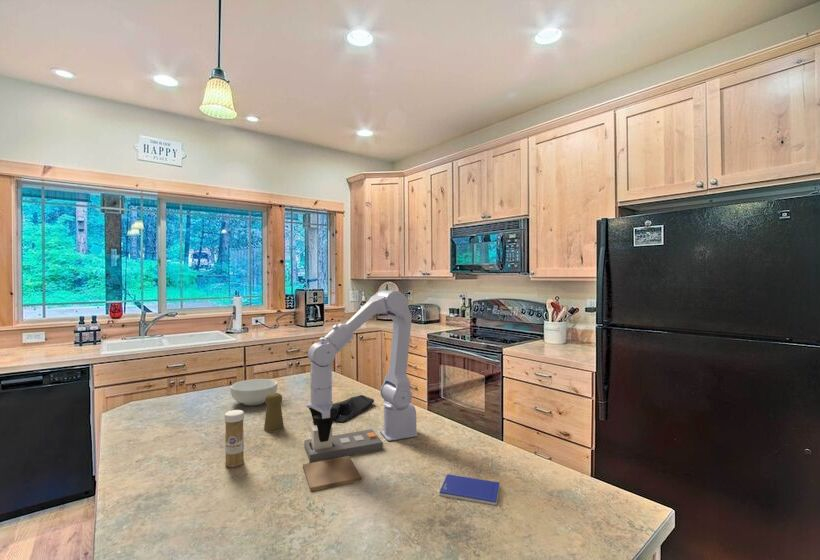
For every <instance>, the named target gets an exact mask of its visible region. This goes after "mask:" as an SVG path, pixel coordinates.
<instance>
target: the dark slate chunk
mask: <svg viewBox="0 0 820 560" xmlns="http://www.w3.org/2000/svg"><path fill="white" fill-rule="evenodd" d="M374 402H375V399H374V398H372V397H371V398H370V397H369V396H366V395H363V394H361V395H360V394H359V395H356V396H355V395H354V396H351V397H350V398H348V399H345V400H343V401H337V402H335V403H333V405H332V407H331V409H330V415H333V414H335V416H336V417H335V420H334V422H335V423H346V422H347V420H349V419H352V418H354V417H356V416H358V415H359V414H360V413H361V412H363V411H364V410H366V408H367V409H368V408H369V407H370V406H371V405H373V404H374Z"/></svg>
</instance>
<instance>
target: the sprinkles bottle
mask: <svg viewBox="0 0 820 560" xmlns="http://www.w3.org/2000/svg"><path fill="white" fill-rule="evenodd" d="M244 419H245V412H244V410H241V409H233V410H229V411H227V412H225V413H224V422H225V434H224V435H225V440H224V444H225V446H224V447H225V448H224V451H225V452H224V453H225V463H224V464H225V466H226V467H228V468H236V467H240V466H241V465H243V464H244V463H245V459H244V451H245V450H244V448H245V445H244V443H245V441H244V440H245V439H244V438H245V437H244V435H245V434H244Z"/></svg>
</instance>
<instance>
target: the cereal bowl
mask: <svg viewBox="0 0 820 560" xmlns="http://www.w3.org/2000/svg"><path fill="white" fill-rule="evenodd" d="M277 391H278V381H276V380H274V379H268V378H253V379H252V378H251V379H245V380H240V381H237V382H235V383H232V385H231V386H230V396H231V397H232V398H233V400H234V401H236V402H237V403H241V404H243V405H245V406H258V405H262V404H264V403H265V398H266V396H267V395H268V394H271V393H277Z"/></svg>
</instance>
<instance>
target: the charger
mask: <svg viewBox="0 0 820 560" xmlns="http://www.w3.org/2000/svg"><path fill="white" fill-rule="evenodd" d="M310 426H311V427H310V429H311V433H310V434H311V438H310V439H311V450H318V449H324V448H330V447H332V436H333V427H331V430H330V435H329V439H328V441H325V442H320V440H319V435H318V428H317V425H314V424H313V425H310Z"/></svg>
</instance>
